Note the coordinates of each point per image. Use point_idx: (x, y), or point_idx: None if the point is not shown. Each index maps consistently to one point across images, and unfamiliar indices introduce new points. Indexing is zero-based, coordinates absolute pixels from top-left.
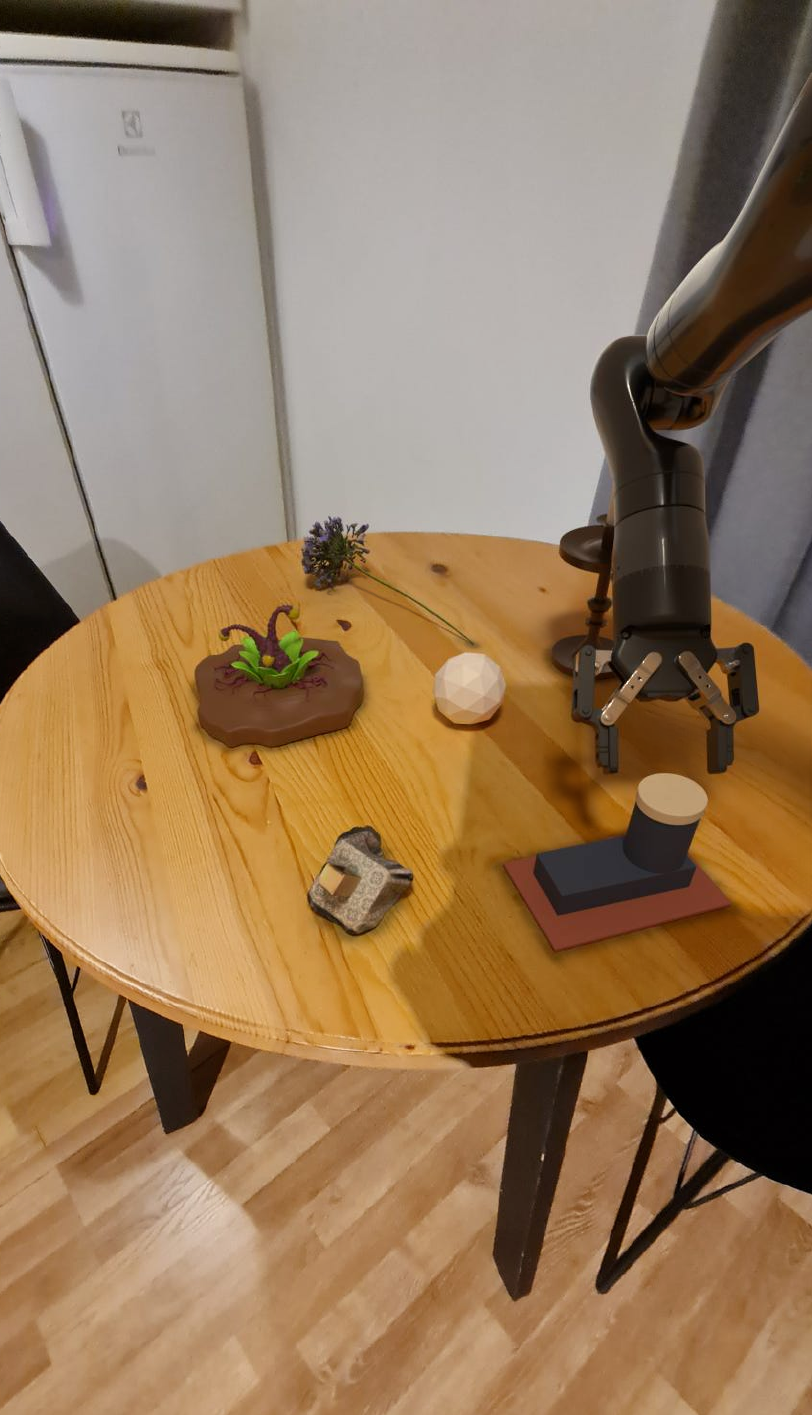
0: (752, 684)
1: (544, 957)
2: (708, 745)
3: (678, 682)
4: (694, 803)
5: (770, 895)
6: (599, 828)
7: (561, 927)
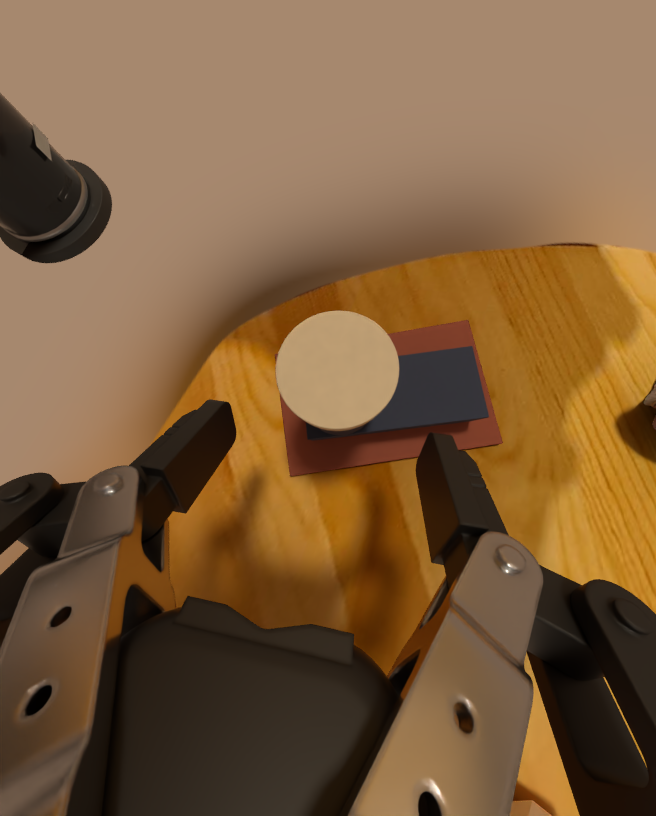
0: None
1: (476, 318)
2: (206, 473)
3: (177, 700)
4: (309, 337)
5: (232, 364)
6: (365, 488)
7: (455, 344)
